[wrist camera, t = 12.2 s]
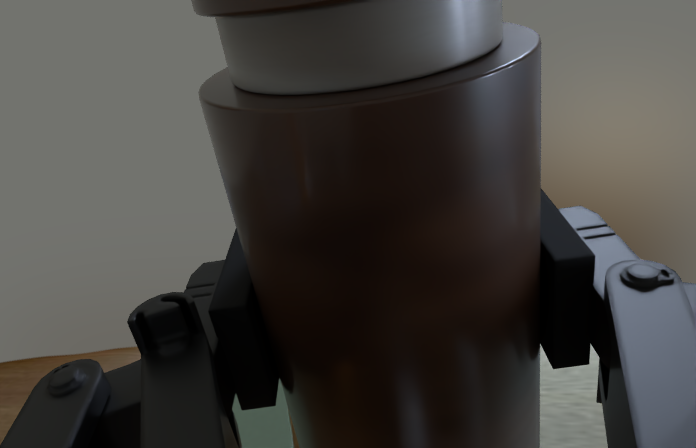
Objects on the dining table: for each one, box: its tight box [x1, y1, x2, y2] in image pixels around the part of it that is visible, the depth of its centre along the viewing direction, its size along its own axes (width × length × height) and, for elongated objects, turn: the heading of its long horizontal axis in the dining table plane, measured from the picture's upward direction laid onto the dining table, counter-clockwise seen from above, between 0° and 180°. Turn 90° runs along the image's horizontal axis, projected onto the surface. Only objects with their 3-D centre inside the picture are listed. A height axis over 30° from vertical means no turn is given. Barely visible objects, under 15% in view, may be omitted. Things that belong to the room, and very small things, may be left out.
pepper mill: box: [192, 0, 541, 448], centre depth 13 cm, size 6×6×24 cm
